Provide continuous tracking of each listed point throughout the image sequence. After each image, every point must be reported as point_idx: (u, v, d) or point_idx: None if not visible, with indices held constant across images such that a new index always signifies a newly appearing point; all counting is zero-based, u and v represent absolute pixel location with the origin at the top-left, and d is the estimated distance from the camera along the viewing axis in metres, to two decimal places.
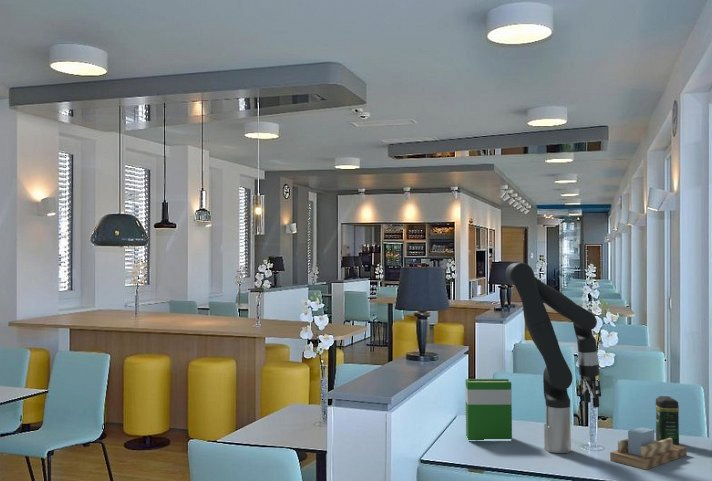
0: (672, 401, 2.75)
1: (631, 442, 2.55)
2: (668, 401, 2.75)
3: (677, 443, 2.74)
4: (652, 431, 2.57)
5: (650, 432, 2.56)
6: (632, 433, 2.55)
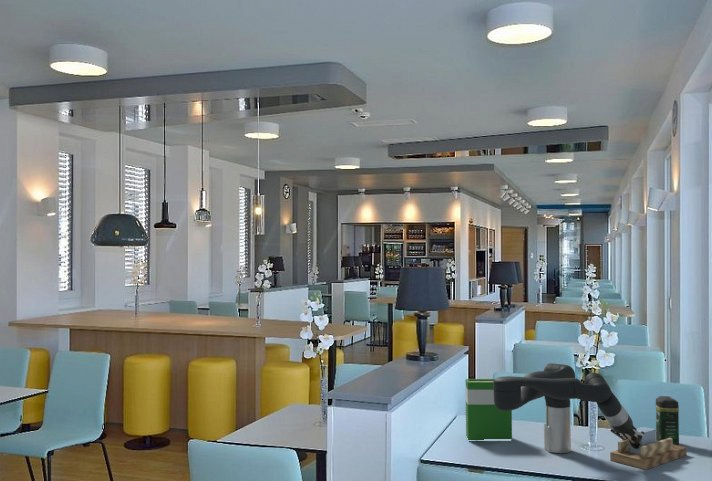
0: (672, 401, 2.75)
1: None
2: (668, 401, 2.75)
3: (677, 443, 2.74)
4: (654, 431, 2.57)
5: (652, 432, 2.57)
6: None
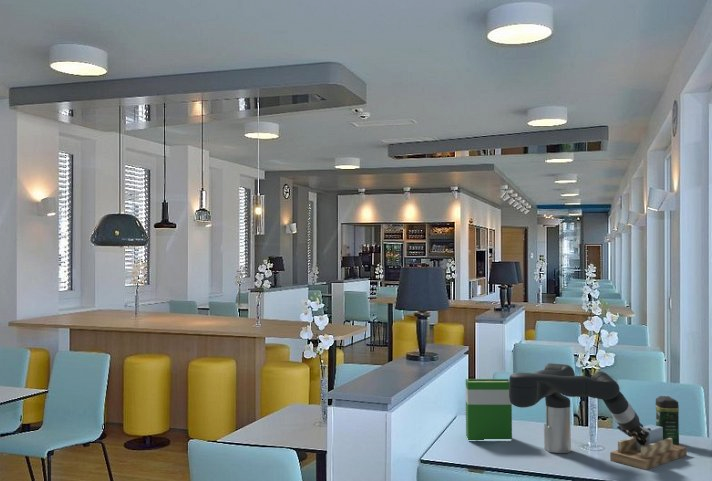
0: (672, 401, 2.75)
1: None
2: (668, 401, 2.75)
3: (677, 443, 2.74)
4: (661, 428, 2.61)
5: (659, 430, 2.60)
6: None
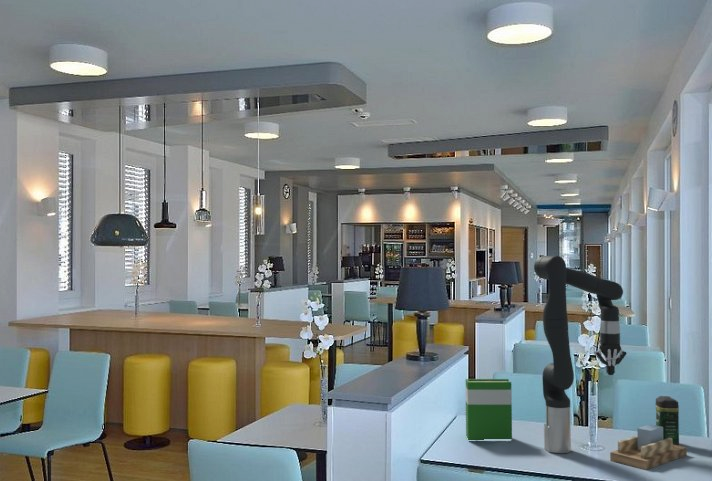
0: (672, 401, 2.75)
1: (640, 439, 2.59)
2: (668, 401, 2.75)
3: (677, 443, 2.74)
4: (661, 428, 2.61)
5: (659, 429, 2.60)
6: (641, 430, 2.59)
